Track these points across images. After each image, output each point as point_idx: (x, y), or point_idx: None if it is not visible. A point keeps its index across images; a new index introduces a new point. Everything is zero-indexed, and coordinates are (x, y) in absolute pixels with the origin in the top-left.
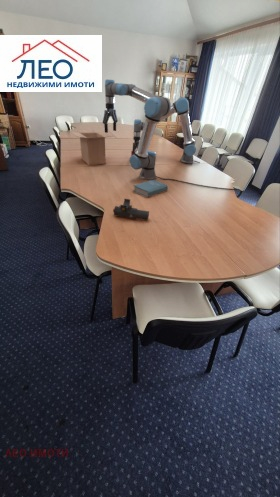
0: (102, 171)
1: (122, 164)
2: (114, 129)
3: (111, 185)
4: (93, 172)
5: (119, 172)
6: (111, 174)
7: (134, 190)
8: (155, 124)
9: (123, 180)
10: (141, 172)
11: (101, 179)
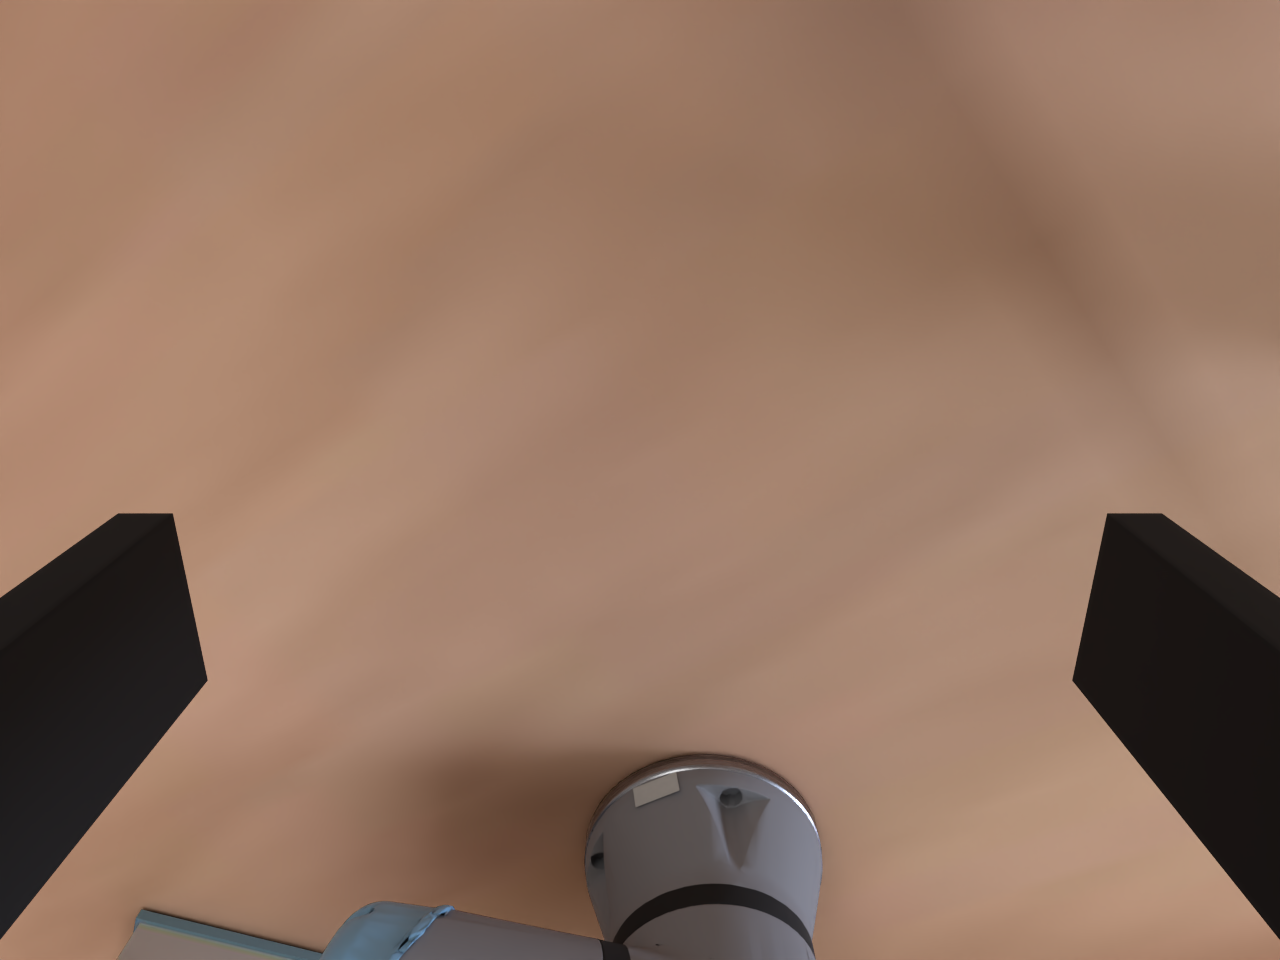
0: (493, 156)
1: (1140, 231)
2: (1127, 640)
3: None
4: (323, 42)
5: (645, 441)
6: (465, 388)
7: (138, 928)
8: None
9: (365, 664)
10: (619, 857)
11: (154, 392)
